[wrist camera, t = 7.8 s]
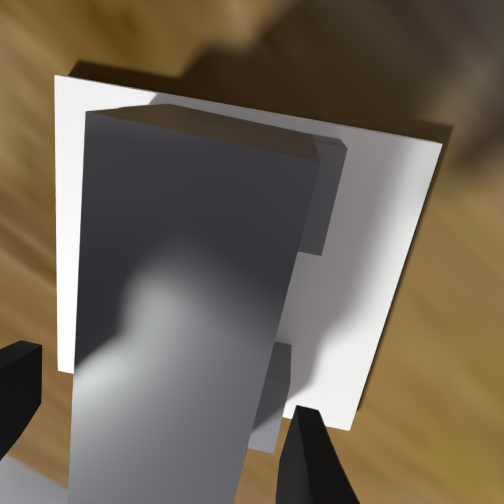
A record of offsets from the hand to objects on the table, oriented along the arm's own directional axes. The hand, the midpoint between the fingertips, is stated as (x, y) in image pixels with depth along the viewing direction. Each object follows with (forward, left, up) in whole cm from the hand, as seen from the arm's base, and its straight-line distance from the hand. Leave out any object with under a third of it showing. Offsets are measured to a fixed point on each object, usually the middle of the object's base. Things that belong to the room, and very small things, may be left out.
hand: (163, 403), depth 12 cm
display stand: (0, 0, -10) cm, 10 cm away
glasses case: (0, 0, -6) cm, 6 cm away
